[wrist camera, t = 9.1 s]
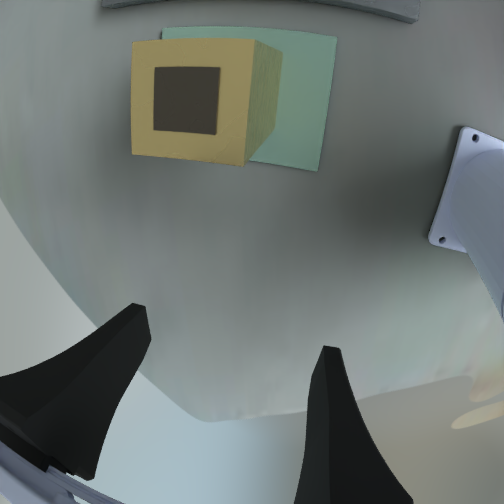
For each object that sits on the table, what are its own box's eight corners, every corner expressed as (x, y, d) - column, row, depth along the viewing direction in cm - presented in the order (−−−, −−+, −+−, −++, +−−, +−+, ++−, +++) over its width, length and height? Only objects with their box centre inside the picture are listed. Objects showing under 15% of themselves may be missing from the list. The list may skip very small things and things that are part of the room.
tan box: (283, 52, 15) (254, 39, 8) (274, 128, 17) (242, 167, 11) (203, 48, 15) (131, 42, 9) (199, 120, 18) (130, 155, 11)
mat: (337, 38, 14) (337, 37, 13) (317, 169, 18) (317, 171, 18) (165, 28, 15) (162, 28, 15) (161, 148, 20) (158, 149, 19)
